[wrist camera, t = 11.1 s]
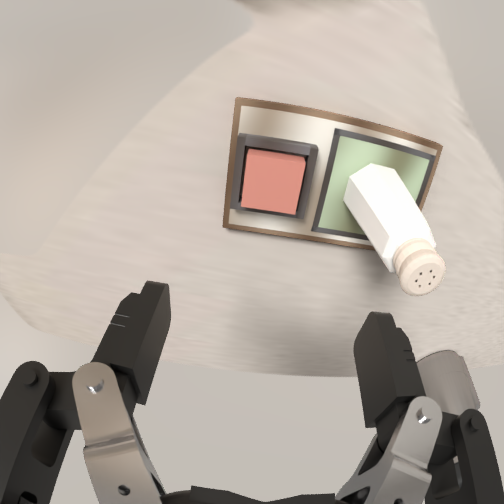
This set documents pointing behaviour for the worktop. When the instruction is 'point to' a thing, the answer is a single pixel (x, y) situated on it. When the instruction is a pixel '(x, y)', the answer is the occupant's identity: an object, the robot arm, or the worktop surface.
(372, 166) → the pepper shaker
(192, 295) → the worktop surface
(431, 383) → the robot arm
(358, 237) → the metal control panel
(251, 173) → the button
